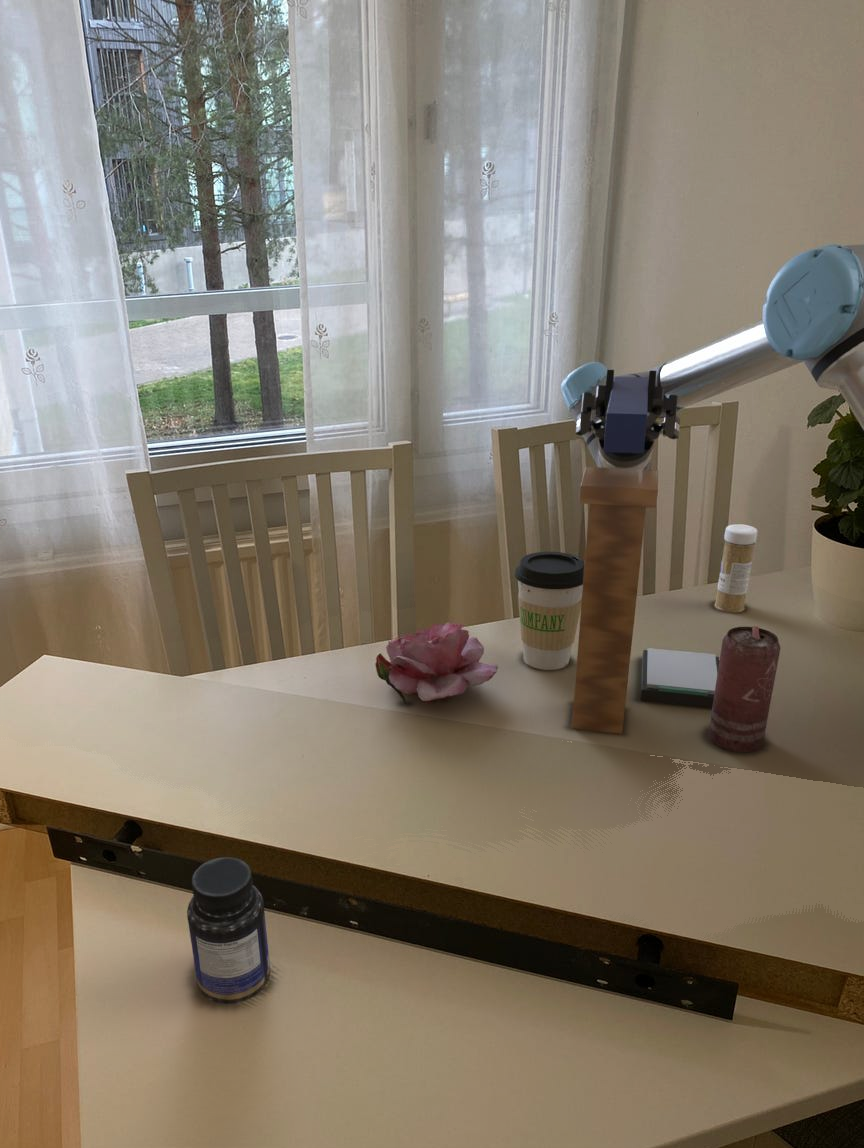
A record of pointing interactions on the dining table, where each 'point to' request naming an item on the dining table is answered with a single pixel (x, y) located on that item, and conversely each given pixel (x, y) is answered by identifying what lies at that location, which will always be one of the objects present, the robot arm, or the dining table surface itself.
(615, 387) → the spaghetti box
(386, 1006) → the dining table surface
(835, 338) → the robot arm
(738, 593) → the sprinkles bottle
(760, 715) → the can
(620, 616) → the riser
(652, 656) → the scale
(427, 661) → the flower
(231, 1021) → the dining table surface
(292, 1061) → the dining table surface
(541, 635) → the coffee cup
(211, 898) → the pill bottle
